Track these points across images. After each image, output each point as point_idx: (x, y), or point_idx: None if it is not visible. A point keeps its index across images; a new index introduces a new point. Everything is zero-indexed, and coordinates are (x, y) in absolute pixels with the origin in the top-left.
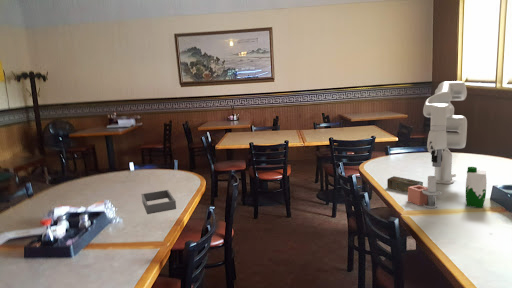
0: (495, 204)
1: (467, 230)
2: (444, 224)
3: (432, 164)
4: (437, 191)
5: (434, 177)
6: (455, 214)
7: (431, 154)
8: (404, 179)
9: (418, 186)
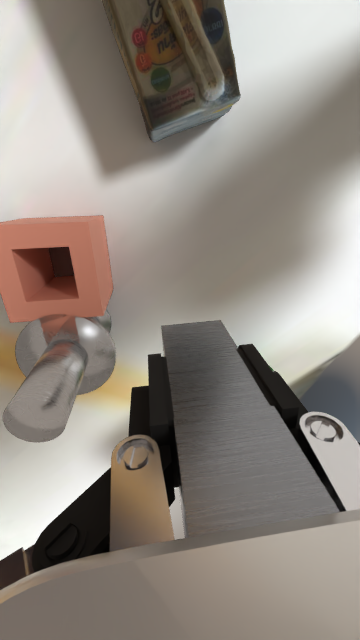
0: (297, 393)
1: (46, 489)
2: (11, 450)
3: (162, 336)
4: (97, 367)
5: (40, 436)
6: (106, 409)
7: (118, 456)
8: None
9: (64, 246)
